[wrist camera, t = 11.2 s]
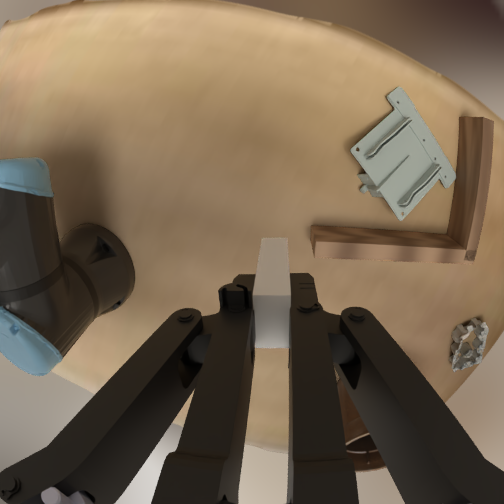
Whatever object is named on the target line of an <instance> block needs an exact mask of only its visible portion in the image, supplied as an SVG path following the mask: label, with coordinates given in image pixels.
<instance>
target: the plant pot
mask: <svg viewBox="0 0 504 504" xmlns="http://www.w3.org/2000/svg"><path fill="white" fill-rule="evenodd" d="M337 388H338V394H339V400H340V407H341V413H342V420H343V427H344V434H345V442H346V449H347V455H348V457H349V458H351V459H352V460H353V462H354V466H355V472H369V471H375V470H379V469H383V468H386V465H385V463H384V461H383V459H382V457H381V455H380V453H379V451H378V449H377V447H376V445H375V443H374V441H373V439H372V437H371V436H370V434H369V432H368V430H367V428H366V426H365V424H364V422H363V420H362V418H361V416H360V415H359V413H358V411H357V409H356V407H355V405H354V403H353V401H352V399H351V397H350V396H349V394H348V392H347V390H346V388H345V386H344V384H343V382H342V381H341V379H340V380H339V381H338V385H337Z"/></svg>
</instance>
